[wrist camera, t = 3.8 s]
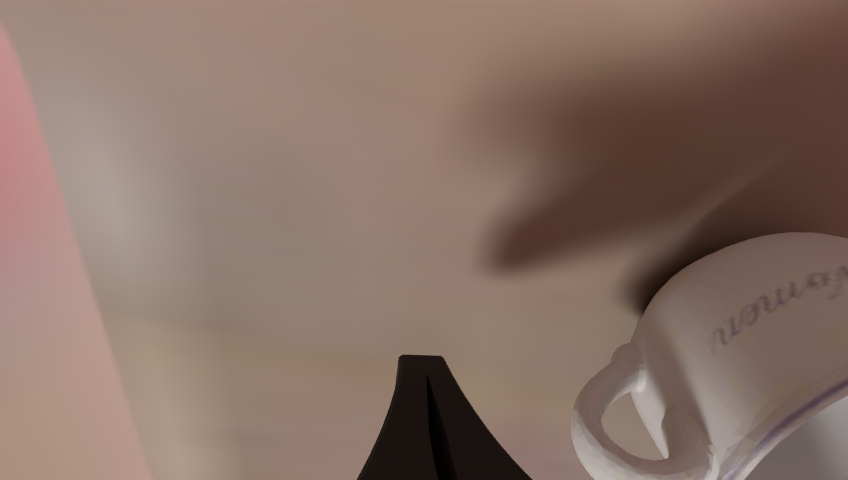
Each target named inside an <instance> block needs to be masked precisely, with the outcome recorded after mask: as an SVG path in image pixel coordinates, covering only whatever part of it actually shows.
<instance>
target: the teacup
mask: <svg viewBox="0 0 848 480" xmlns="http://www.w3.org/2000/svg"><path fill="white" fill-rule="evenodd" d="M628 392H631V396H632V399H633V401H634V404H635V406H636V408H637V410H638V413H639V415H640V416H641V418H642V420H643V422H644V424H645V426H646V427H647V429H648V431H649V433H650V434H651V436H652V438H653V440H654V441H655V443H656V445H657V446H658V448H659V450H660V452H661V453H662V455H663V456H664V458H665V459H664V460H657V461H654V460H646V459H642V458H639V457H636V456H633V455H630V454H629V453H627V452H626V451H625V450H623V449H622V448H620V447H619V446H618V445H616V444H615V443H614V442H613V441H612V440H611V439H610V438H609V437H608V436H607V434H606V433H605V431H604V429H603V427H602V424H601V417H602V415H603V413H604V412H605V410H606V409H607V407H608V406H609V405H611V404H612V403H613V402H614V401H615V400H616V399H618V398H619V397H621V396H622V395H624V394H626V393H628ZM571 436H572V441H573V444H574V447H575V451H576V453H577V456H578V458H579V459H580V461H581V462H582V464H583V466H584V467H585V468H586V470H587V471H588V473H589V474H590V475H591V476H592V477H593V478H594V479H595V480H848V238H844V237H839V236H834V235H829V234H822V233H814V232H787V233H778V234H771V235H765V236H760V237H756V238H752V239H748V240H745V241H742V242H739V243H736V244H733V245H730V246H727V247H725V248H723V249H721V250H719V251H717V252H714V253H712V254H709V255H707V256H705V257H703V258H701V259H699V260H697V261H695V262H694V263H692V264H690V265H688V266H686V267H685V268H684V269H682V270H681V271H679V272H678V273H677V274H676V275H674V276H673V277H672V278H671V279H670V280H669V281H668V282H667V283H666V284H665V285H664V286H663V287H662V288H661V289H660V290H659V291H658V292H657V293H656V295H655V296H654V297H653V299H652V300H651V302H650V303H649V305H648V306H647V308H646V310H645V312H644V314H643V316H642V317H641V319H640V321H639V322H638V324H637V327H636V329H635V331H634V334H633V336H632V339H631V342H630V343H628V344H624V345H622V346H620V347H619V348H617V350H616V351H615V352H614V354H613V356H612V360H611V363H610V364H609V365H607V366H606V367H605V368H604V369H602V370H601V371H600V372H599V373H598V374H596V375H595V376H594V377H593V378H591V379H590V380H589V382H588V383H587V384H586V385H585V386H584V388H583V389H582V390H581V392H580V393H579V395H578V397H577V399H576V401H575V404H574V407H573V410H572V415H571Z"/></svg>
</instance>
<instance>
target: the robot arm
mask: <svg viewBox="0 0 848 480" xmlns="http://www.w3.org/2000/svg"><path fill="white" fill-rule="evenodd" d="M357 480H532V479H531V478H530V477H529V476H528V475H527V474H526V473H525V472H524V471H523V470H522V469H521V468H520V467H519V465H518V464H517V463H516V462H515V461H514V460H513V459H512V458H511V457H510V456H509V454H508V453H507V452H506V451H505V450H504V449H503V448H502V446H501V445H500V444H499V443H498V441H497V440H496V439H495V438H494V436H493V435H492V434H491V433H490V431H489V430H488V429H487V427H486V426H485V425H484V423H483V422H482V421H481V419H480V418H479V416H478V415H477V413H476V412H475V410H474V409H473V407H472V406H471V404H470V403H469V401H468V400H467V398H466V397H465V395H464V394H463V392H462V390H461V389H460V387H459V385H458V384H457V382H456V380H455V378H454V377H453V375H452V373H451V371H450V369H449V367H448V366H447V364H446V362H445V360H444V358H443V357H442V356H427V355H402V356H400V357H399V360H398V368H397V377H396V385H395V391H394V394H393V398H392V401H391V404H390V407H389V410H388V413H387V416H386V418H385V421H384V424H383V426H382V429H381V431H380V434H379V436H378V438H377V440H376V443H375V445H374V447H373V449H372V451H371V453H370V455H369V457H368V459H367V461H366V463H365V465H364V467H363V469H362V471H361V473H360V475H359V476H358V478H357Z"/></svg>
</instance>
